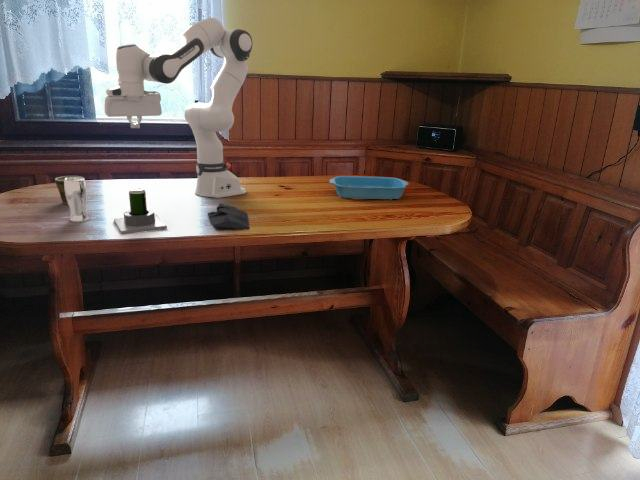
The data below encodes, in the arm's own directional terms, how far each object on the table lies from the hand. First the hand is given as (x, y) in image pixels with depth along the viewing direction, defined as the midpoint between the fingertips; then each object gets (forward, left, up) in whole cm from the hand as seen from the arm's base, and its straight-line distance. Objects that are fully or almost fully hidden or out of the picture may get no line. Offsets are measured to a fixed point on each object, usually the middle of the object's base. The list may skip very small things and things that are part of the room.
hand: (135, 128), depth 186 cm
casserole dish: (-98, +21, -31) cm, 105 cm away
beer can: (+6, +26, -30) cm, 40 cm away
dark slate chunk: (-24, +34, -31) cm, 52 cm away
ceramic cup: (+25, -15, -31) cm, 42 cm away
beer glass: (+24, +11, -31) cm, 41 cm away
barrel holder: (+6, +26, -31) cm, 41 cm away
